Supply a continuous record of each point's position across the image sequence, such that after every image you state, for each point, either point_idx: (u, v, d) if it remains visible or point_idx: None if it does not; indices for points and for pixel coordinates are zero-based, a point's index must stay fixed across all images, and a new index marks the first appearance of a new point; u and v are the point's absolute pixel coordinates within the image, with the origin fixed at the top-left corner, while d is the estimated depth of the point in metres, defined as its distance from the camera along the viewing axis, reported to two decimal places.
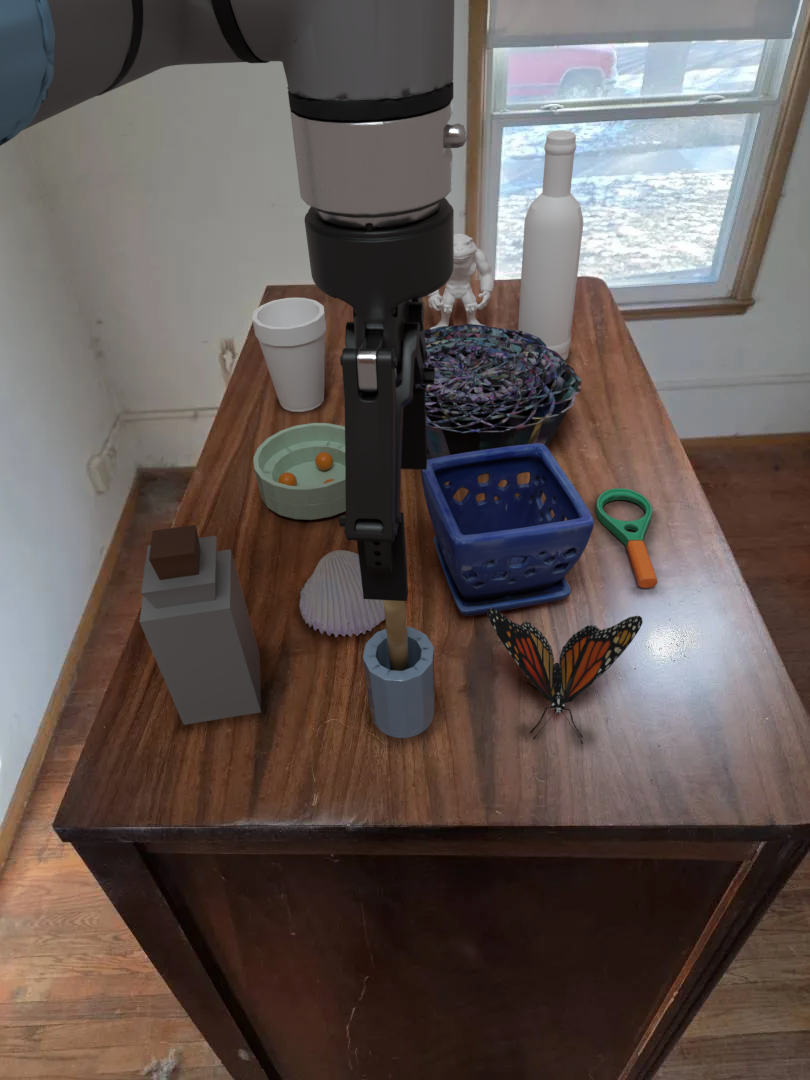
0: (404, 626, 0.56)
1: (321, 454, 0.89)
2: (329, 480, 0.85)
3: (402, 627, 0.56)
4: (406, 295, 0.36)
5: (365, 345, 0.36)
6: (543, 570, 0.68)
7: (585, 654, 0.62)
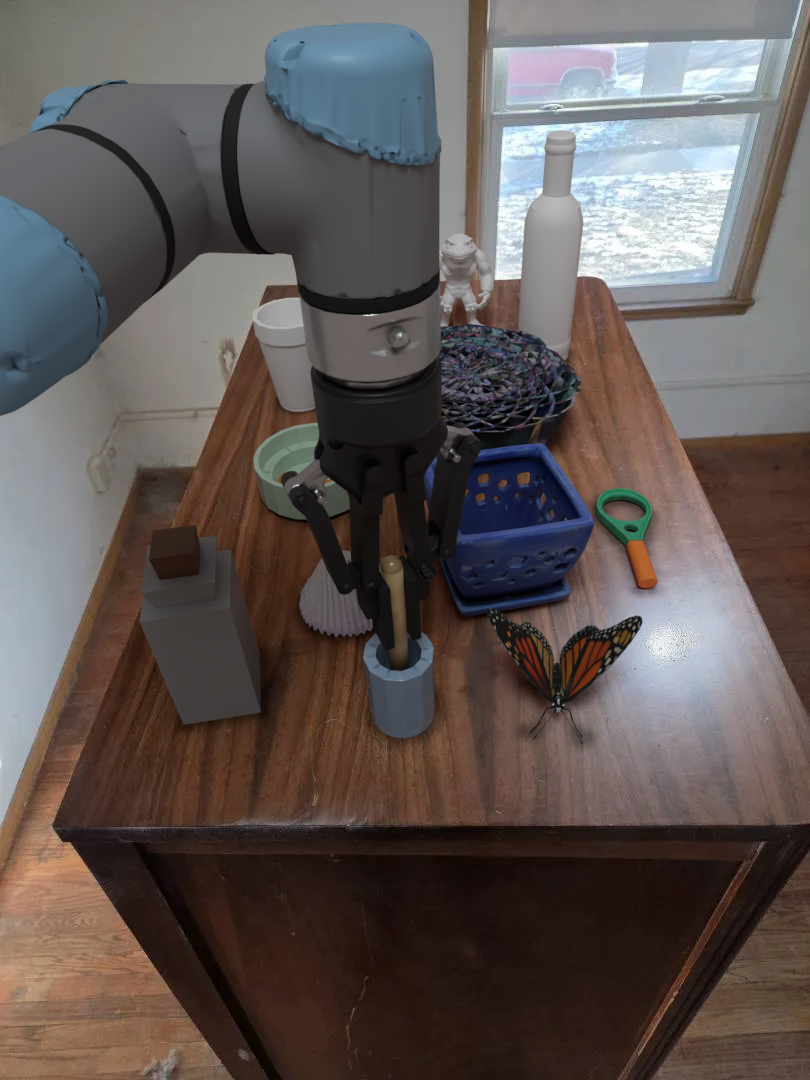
0: (404, 626, 0.56)
1: None
2: (329, 480, 0.85)
3: (402, 627, 0.56)
4: (335, 438, 0.42)
5: (300, 474, 0.45)
6: (543, 570, 0.68)
7: (585, 654, 0.62)
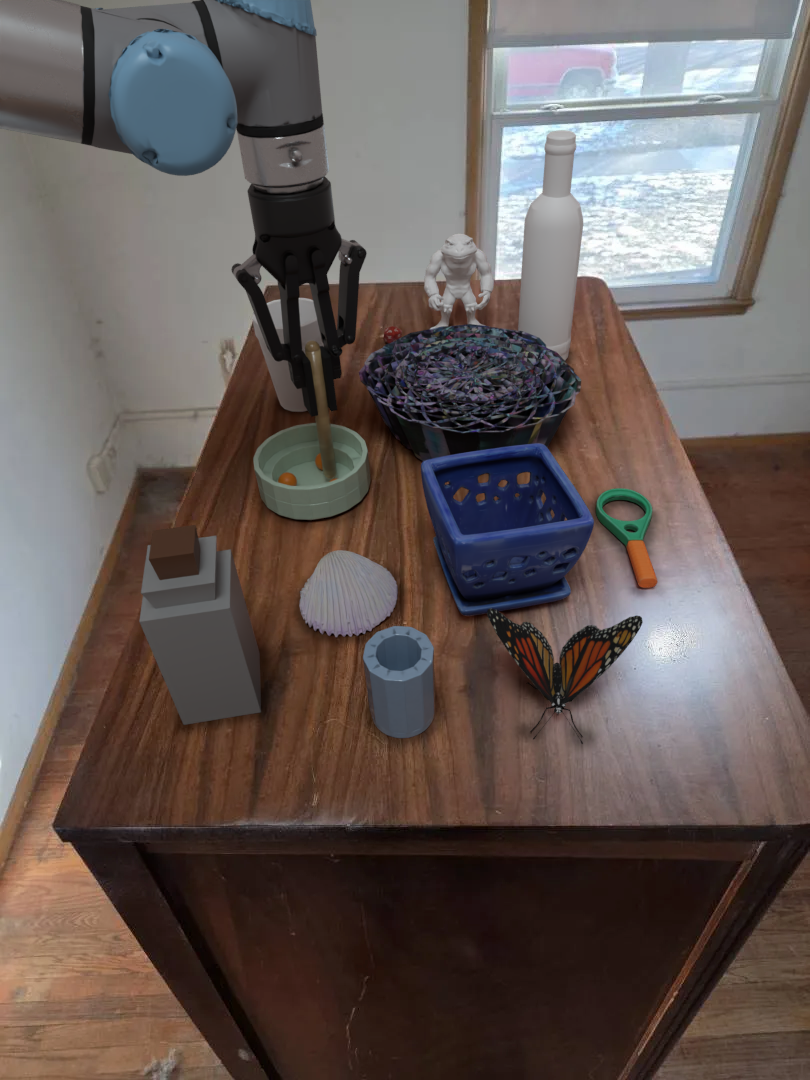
0: (325, 400, 0.80)
1: None
2: None
3: (323, 400, 0.80)
4: (263, 231, 0.66)
5: (244, 263, 0.69)
6: (543, 570, 0.68)
7: (585, 654, 0.62)
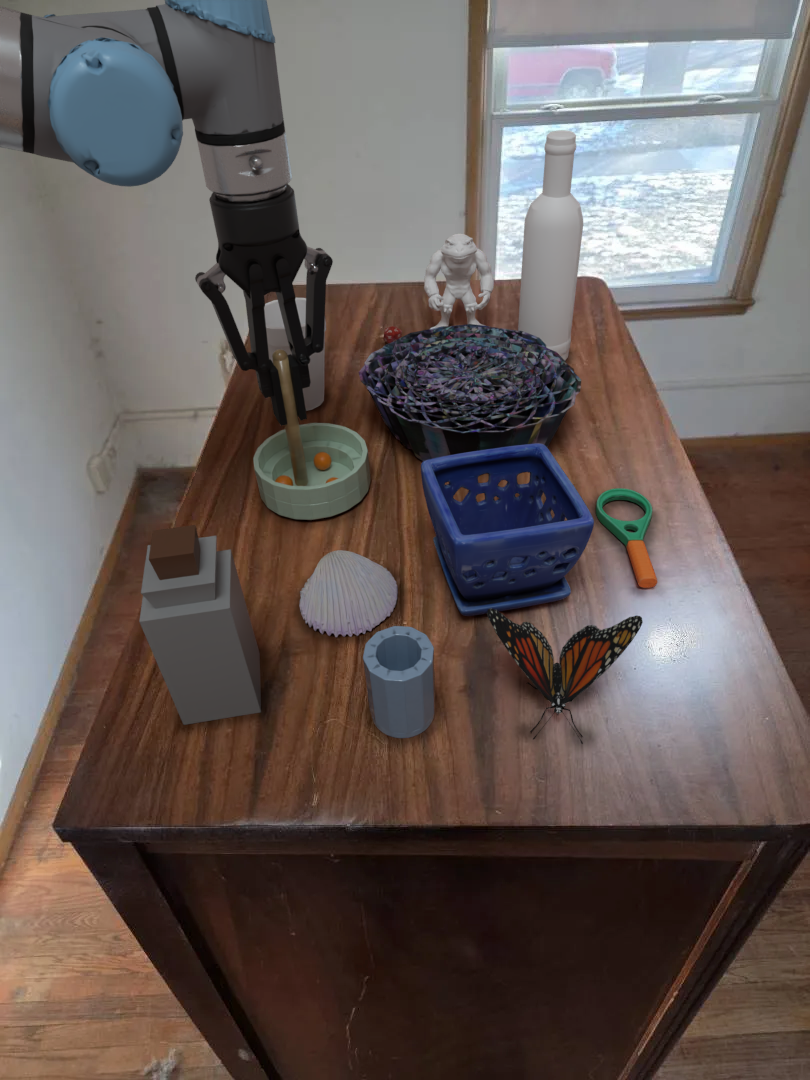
0: (294, 409, 0.79)
1: (318, 454, 0.89)
2: (334, 478, 0.85)
3: (292, 409, 0.79)
4: (225, 240, 0.65)
5: (207, 272, 0.68)
6: (543, 570, 0.68)
7: (585, 654, 0.62)
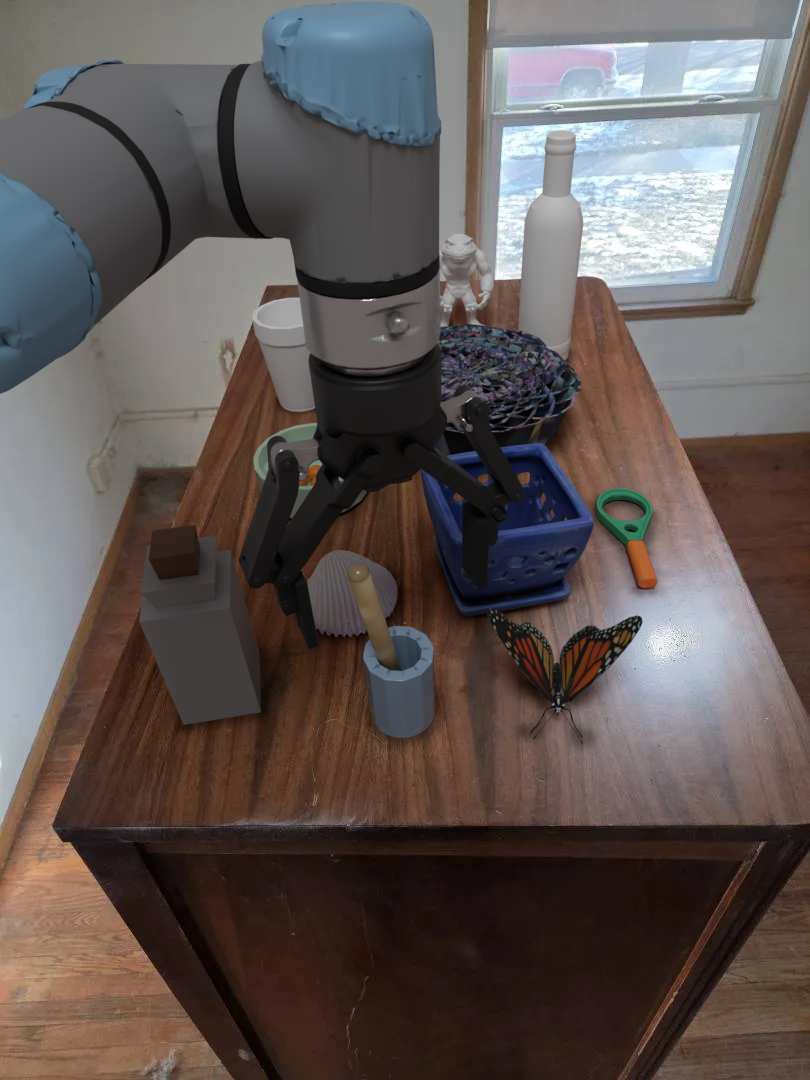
0: (385, 631, 0.56)
1: None
2: None
3: (382, 632, 0.56)
4: (333, 426, 0.41)
5: (295, 443, 0.43)
6: (543, 570, 0.68)
7: (585, 654, 0.62)
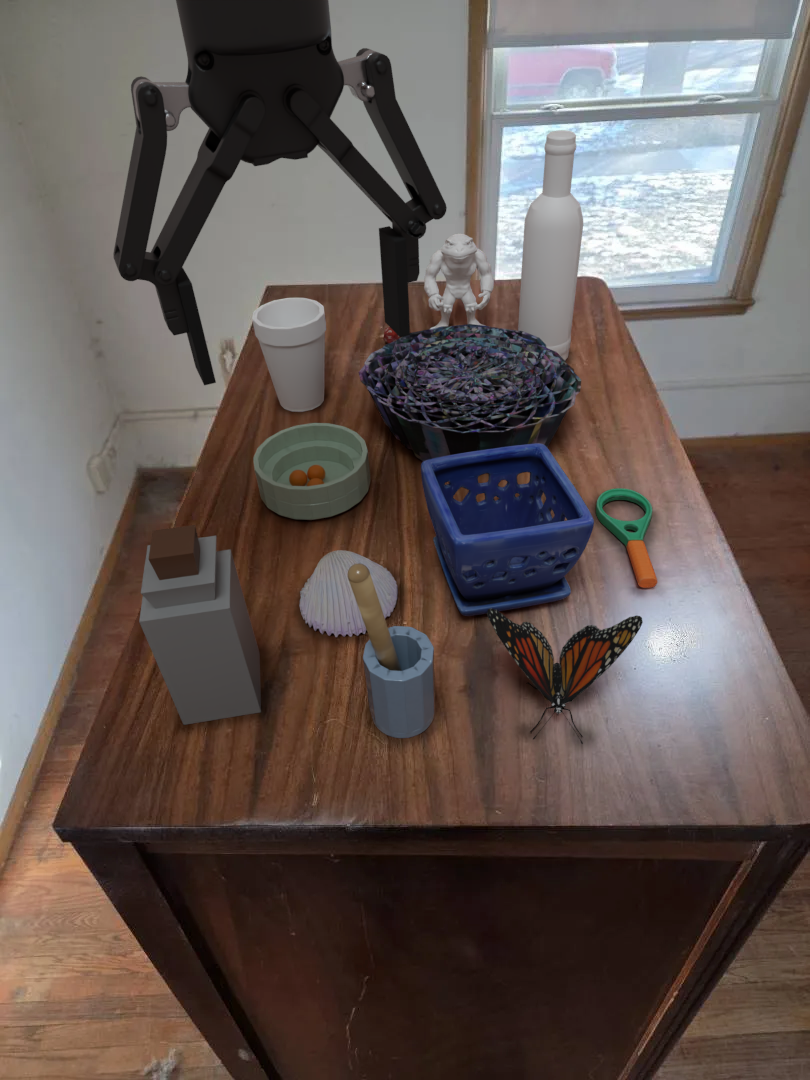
0: (385, 631, 0.56)
1: None
2: None
3: (382, 632, 0.56)
4: (199, 43, 0.36)
5: (161, 82, 0.37)
6: (543, 570, 0.68)
7: (585, 654, 0.62)
